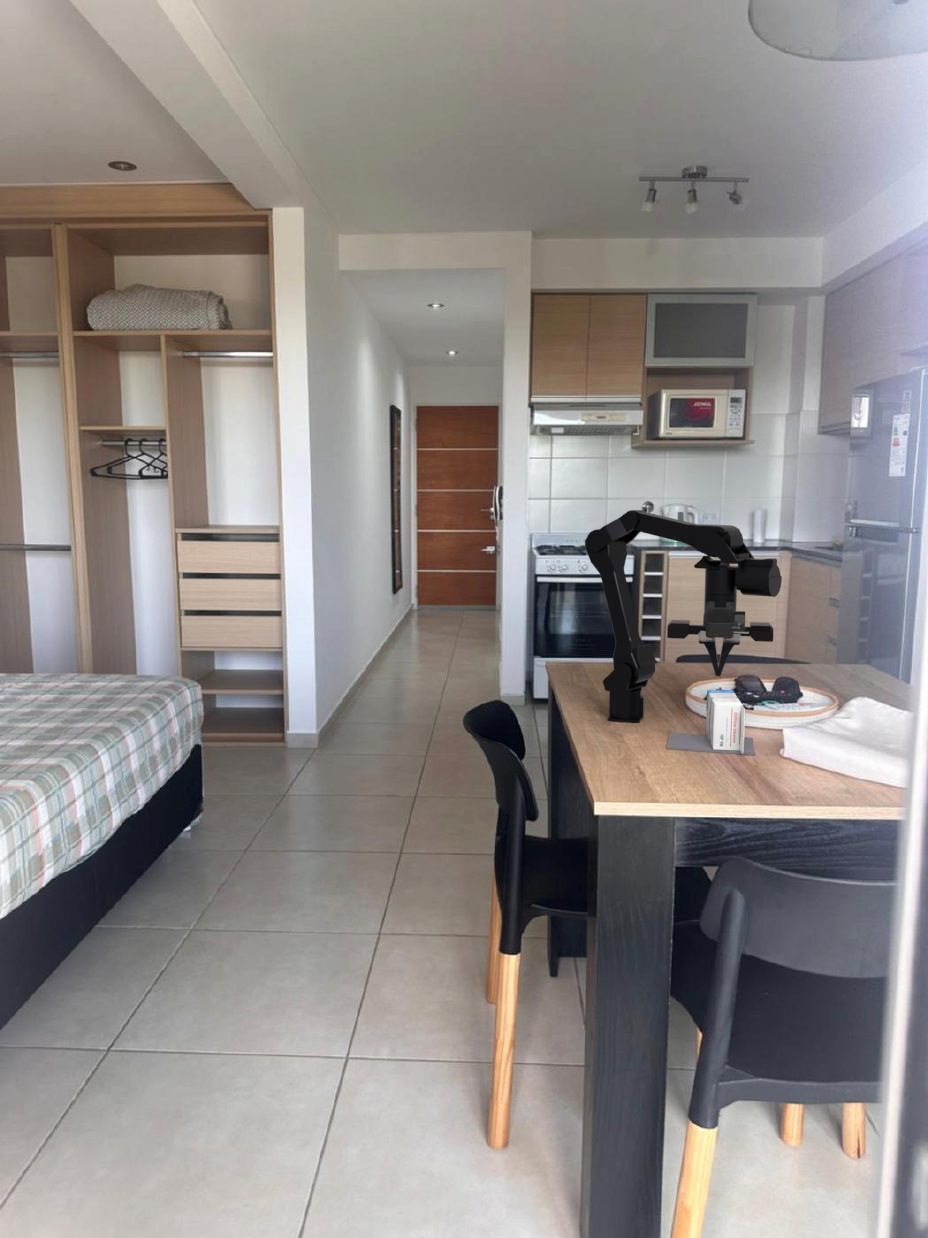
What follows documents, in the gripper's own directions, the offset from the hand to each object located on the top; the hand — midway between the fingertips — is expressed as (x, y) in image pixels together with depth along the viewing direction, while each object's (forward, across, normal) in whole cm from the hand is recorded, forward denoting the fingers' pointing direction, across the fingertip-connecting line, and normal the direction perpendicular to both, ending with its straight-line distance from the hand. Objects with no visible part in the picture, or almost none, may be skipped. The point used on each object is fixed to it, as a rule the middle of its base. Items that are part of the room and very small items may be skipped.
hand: (718, 675), depth 156 cm
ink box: (+7, 0, +1) cm, 7 cm away
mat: (+12, -1, -7) cm, 13 cm away
